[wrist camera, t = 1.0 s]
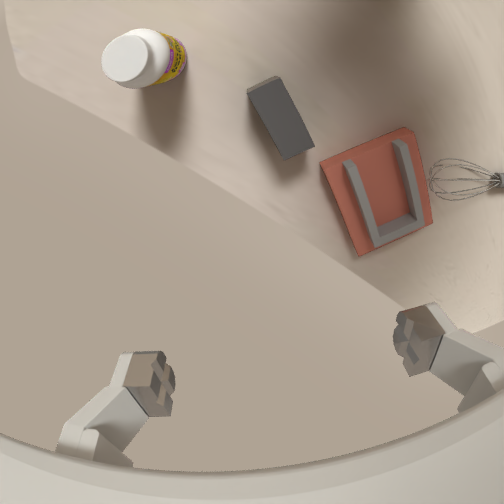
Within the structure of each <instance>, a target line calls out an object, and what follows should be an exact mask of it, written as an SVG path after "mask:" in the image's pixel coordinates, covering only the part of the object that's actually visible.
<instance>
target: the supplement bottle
mask: <svg viewBox="0 0 504 504" xmlns="http://www.w3.org/2000/svg"><path fill="white" fill-rule="evenodd" d="M186 60H187V53H186V49H185V47H184V45H183V44H182V43H181V42H180V41H179V40H178V39H176V38H174V37H172V36H169V35H166V34H163V33H160V32H157V31H154V30H151V29H135V30H132V31H129V32H127V33H125V34H124V35H122V36H120V37H117V38H116V39H114V40H113V41H111V42H110V43H109V44H108V45H107V47H106V48H105V50H104V52H103V55H102V60H101V64H102V69H103V72H104V73H105V75H106V76H107V77H108V78H109V79H111V80H113V81H115V82H117V83H118V84H119V85H121V86H123V87H126V88H132V89H137V88H143V87H147V86H151V85H155V84H160V83H164V82H167V81H170V80H172V79H174V78H175V77H177V76H178V75H179V74H180V73H181V71H182V70H183V69H184V67H185V64H186Z"/></svg>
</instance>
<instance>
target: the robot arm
mask: <svg viewBox="0 0 504 504" xmlns="http://www.w3.org/2000/svg"><path fill="white" fill-rule="evenodd" d="M396 321H397V323H398V324H399V325H398V326H397V327H396V328H395V329H394V334H393V342H394V346H395V349H396V351H397V353H398V355H400V356H402V357H404V360H403V365H404V366H405V369H406V371H407V373H408V375H409V377H411V376H413V375H417V374H420V373H423V372H426V371H429V370H430V372H431V373H432V374H434V375H435V376H437V377H438V378H440V379H441V380H442V381H444V382H445V383H447V384H448V385H449V386H451V387H452V388H454V389H455V390H457V391H458V392H459V393H461V394H463V395H464V396H465V397H464V398H463V400H462V401H461V403H460V404H459V406H458V411H459V414H457V415H454V416H453V417H450V418H448V419H446V420H444V421H442V422H439V423H437V424H435V425H433V426H430V427H428V428H425V429H423V430H420V431H418V432H415V433H413V434H410V435H407V436H405V437H402V438H399V439H396V440H393V441H390V442H387V443H384V444H381V445H378V446H375V447H371V448H368V449H364V450H361V451H357V452H353V453H349V454H345V455H341V456H337V457H332V458H328V459H323V460H318V461H313V462H308V463H302V464H296V465H289V466H282V467H274V468H265V469H255V470H242V471H224V472H184V471H183V472H182V471H165V470H151V469H142V468H133V462H132V461H131V460H130V459H129V458H128V457H127V456H125V455H124V454H123V453H122V452H123V450H124V449H125V448H126V447H127V446H128V444H129V443H130V442H131V440H132V439H133V438H134V437H135V435H136V434H137V433H138V431H139V430H140V429H141V427H142V426H143V425H144V424H145V422H146V421H147V420H148V419H149V417H159V416H171V410H172V403H173V401H172V399H171V397H170V395H171V394H172V393H173V392H174V390H175V376H174V372H173V370H172V368H171V366H170V365H168V364H166V356H165V355H164V353H163V352H162V351H144V352H123V353H122V354H121V355H120V357H119V360H118V363H117V365H116V368H115V371H114V374H113V377H112V379H111V382H110V386H109V387H105V388H104V389H103V390H102V391H100V392H99V393H98V394H97V395H96V396H95V397H94V398H93V399H92V400H90V401H89V402H88V403H87V404H86V405H85V406H84V407H83V408H81V409H80V410H79V411H78V412H77V413H76V414H75V415H74V416H73V417H72V418H70V419H69V420H68V421H67V422H66V423H65V424H64V427H63V430H62V433H61V435H60V438H59V441H58V444H57V447H56V451H55V452H53V451H50V450H47V449H43V448H40V447H37V446H34V445H31V444H28V443H25V442H22V441H19V440H17V439H14V438H11V437H9V436H6V435H4V434H2V433H0V504H504V348H503V347H501V346H499V345H496V344H494V343H492V342H490V341H488V340H486V339H483V338H481V337H479V336H477V335H475V334H472V333H470V332H468V331H466V330H464V329H457V327H456V326H455V325H454V323H453V322H452V321H451V320H450V318H449V317H448V316H447V314H446V313H445V312H444V311H443V309H442V308H441V307H440V306H439V304H438V303H436V302H432V303H428V304H425V305H423V306H418V307H415V308H411V309H408V310H404V311H400V312H399V313H398V315H397V319H396Z"/></svg>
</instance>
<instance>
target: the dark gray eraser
mask: <svg viewBox="0 0 504 504" xmlns="http://www.w3.org/2000/svg"><path fill="white" fill-rule="evenodd" d="M247 95H248V97H249V98H250V100H251V102H252V103H253V105H254V107H255V109H256V110H257V112H258V114H259V116H260V117H261V119H262V121H263V123H264V125H265V126H266V128H267V130H268V132H269V134H270V135H271V137H272V139H273V141H274V143H275V145H276V146H277V148H278V150H279V152H280V154H281V156H282V158H283V160H286V159H288V158H291V157H293V156H295V155H297V154H299V153H301V152H304V151H306V150H308V149H310V148H313V147H315V145H314V143H313V141H312V139H311V137H310V135H309V133H308V131H307V129H306V126H305V124H304V122H303V120H302V118H301V116H300V114H299V112H298V111H297V109H296V107H295V105H294V103H293V101H292V99H291V97H290V95H289V93H288V91H287V90H286V88H285V86H284V84H283V82H282V80H281V79H280V77H278V76H274V77H272V78H269V79H267V80H265V81H263V82H261V83H259V84H257V85H255V86H253V87H251V88H249V89H247Z"/></svg>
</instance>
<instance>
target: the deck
mask: <svg viewBox="0 0 504 504" xmlns="http://www.w3.org/2000/svg"><path fill="white" fill-rule="evenodd" d="M319 163H320V165H321V167H322V169H323V171H324V174H325V176H326V178H327V181H328V183H329V185H330V187H331V190H332V192H333V194H334V197H335V199H336V202H337V204H338V207H339V209H340V211H341V214H342V216H343V219H344V221H345V224H346V227H347V229H348V232H349V234H350V237H351V240H352V242H353V245H354V247H355V249H356V252H357V254H358V256H361V255H364V254H366V253H368V252H371V251H373V250H375V249H377V248H380V247H382V246H384V245H386V244H389V243H391V242H393V241H395V240H398V239H400V238H402V237H404V236H406V235H409V234H411V233H413V232H415V231H417V230H419V229H422V228H424V227H426V226H428V225H430V224H432V223H433V220H432V213H431V207H430V201H429V195H428V190H427V185H426V180H425V175H424V170H423V166H422V162H421V157H420V153H419V149H418V145H417V142H416V138H415V134H414V132H412V131H410V130H409V129H407V128H405V127H403V128H401V129H398V130H396V131H393V132H391V133H388V134H386V135H383V136H381V137H378V138H376V139H373V140H371V141H368V142H366V143H364V144H361V145H359V146H356V147H354V148H352V149H349V150H347V151H345V152H342V153H340V154H338V155H335V156H333V157H331V158H329V159H326V160H324V161H322V162H319Z"/></svg>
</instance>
